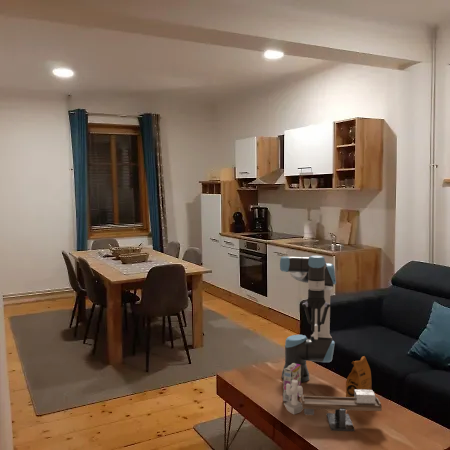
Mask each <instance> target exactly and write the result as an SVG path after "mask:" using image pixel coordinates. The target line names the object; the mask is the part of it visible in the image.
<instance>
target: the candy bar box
mask: <svg viewBox="0 0 450 450" xmlns="http://www.w3.org/2000/svg"><path fill="white" fill-rule="evenodd" d="M283 370H284V373H283V378H282V380H283V381H282V387H283V388H282V402H283V403H285V402H288V401H291V398H292V395H287V394H286V384H287V383H289V384H290V388H291V387H292V386H291V381H292V380H297V381H298V386H302V384H301V383H302V382H301V365H300V364H296V363H292V364H291V365H289V366H288V367H286V368H285V369H283V368H282V371H283ZM298 398H300V397H299V395H298V394H297V399H298Z"/></svg>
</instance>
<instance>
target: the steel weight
mask: <svg viewBox="0 0 450 450" xmlns="http://www.w3.org/2000/svg"><path fill="white" fill-rule="evenodd" d="M375 398H376V394H375V391H373V389H371V390H358V389H354V401H355V403H356V404H357V405H375Z"/></svg>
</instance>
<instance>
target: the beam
mask: <svg viewBox="0 0 450 450" xmlns="http://www.w3.org/2000/svg"><path fill="white" fill-rule="evenodd" d="M300 402H301V403H302V407H303V413H304V415H305V416H315V410H328V411H329V410H331V411H332V410H334V411H335V410H339V408H345V410H346V411H362V412H363V411H364V412H382V411H383V410H382V409H383V408H382V403H381V401H380V399H379V398H378V397H377V396H375V405H357V404H356V403H355V401H354V397H346V396H326V395H325V396H323V395H321V396H320V395H304V394H303V395H301V397H300Z"/></svg>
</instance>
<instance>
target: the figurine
mask: <svg viewBox="0 0 450 450" xmlns="http://www.w3.org/2000/svg"><path fill="white" fill-rule="evenodd" d="M291 386H292V387H291V388H290V384H289V383H287V384H286V394H287V395H292V398H291V401H288V402H283V406H285V409H286V410H287V412H289V413H291V414H293V415H297V414H300V413H302V411H304V409H303V407H302V403H301V401H299V400H298V398H301V395H303V396H304V394H303V393H304V389H303V386H302V385H301V386H298V381H297V380H292V381H291ZM297 394H298V395H299V397H298V398H297Z"/></svg>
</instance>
